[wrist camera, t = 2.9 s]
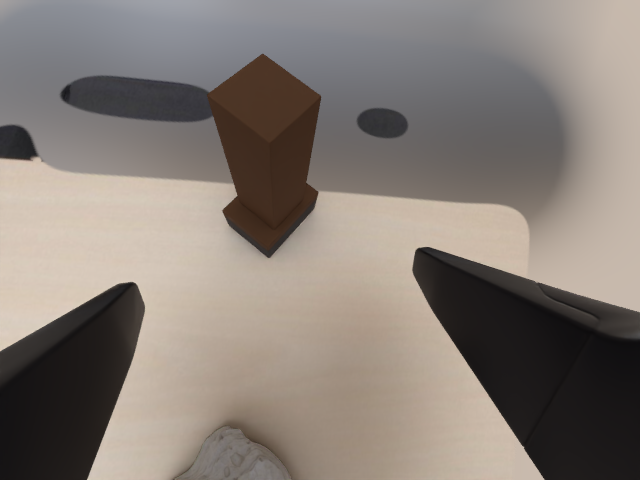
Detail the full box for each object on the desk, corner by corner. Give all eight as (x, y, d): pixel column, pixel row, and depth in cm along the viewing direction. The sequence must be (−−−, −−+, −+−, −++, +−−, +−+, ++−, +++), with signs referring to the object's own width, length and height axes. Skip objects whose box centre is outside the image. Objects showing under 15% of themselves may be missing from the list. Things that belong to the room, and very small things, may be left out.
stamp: (269, 258, 23) (256, 171, 11) (228, 225, 23) (172, 105, 11) (314, 208, 25) (348, 86, 13) (276, 178, 25) (273, 32, 13)
